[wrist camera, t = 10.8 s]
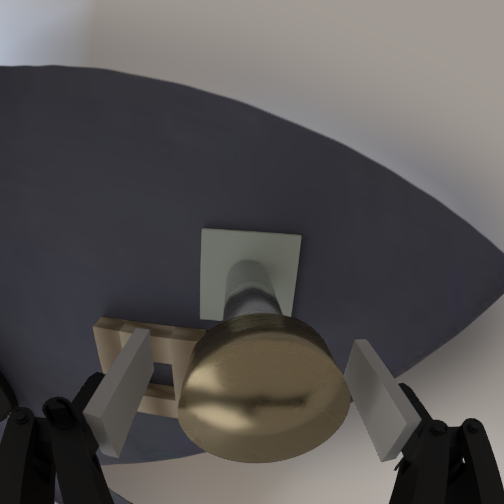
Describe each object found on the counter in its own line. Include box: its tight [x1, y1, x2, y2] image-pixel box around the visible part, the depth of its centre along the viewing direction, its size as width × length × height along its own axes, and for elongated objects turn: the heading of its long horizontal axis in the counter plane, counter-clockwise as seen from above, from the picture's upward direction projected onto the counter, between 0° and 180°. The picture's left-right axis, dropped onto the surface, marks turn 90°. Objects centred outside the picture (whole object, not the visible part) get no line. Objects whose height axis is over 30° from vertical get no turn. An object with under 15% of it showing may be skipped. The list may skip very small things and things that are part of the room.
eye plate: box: [93, 316, 206, 418], centre depth 28 cm, size 12×12×2 cm
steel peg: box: [178, 260, 350, 463], centre depth 18 cm, size 7×7×17 cm
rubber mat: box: [200, 228, 301, 321], centre depth 26 cm, size 9×9×1 cm
